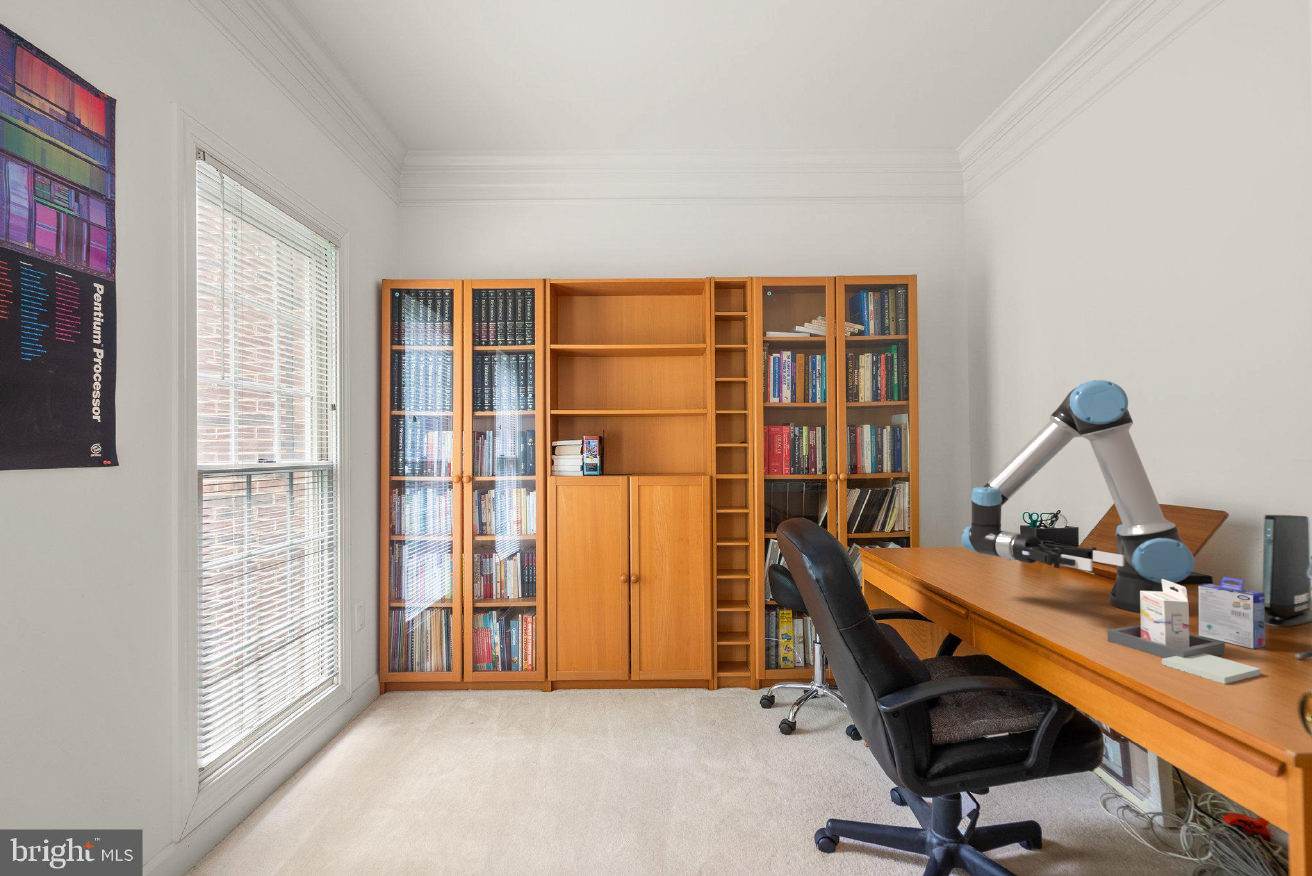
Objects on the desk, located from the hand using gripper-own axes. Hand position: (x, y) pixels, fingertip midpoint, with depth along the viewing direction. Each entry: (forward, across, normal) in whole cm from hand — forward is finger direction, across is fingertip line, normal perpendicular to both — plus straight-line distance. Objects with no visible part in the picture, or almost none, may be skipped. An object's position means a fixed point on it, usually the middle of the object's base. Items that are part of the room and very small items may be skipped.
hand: (1108, 563), depth 134 cm
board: (+21, +6, -17) cm, 28 cm away
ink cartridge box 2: (+15, -19, -17) cm, 30 cm away
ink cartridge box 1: (+11, -1, -17) cm, 20 cm away
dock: (+11, -1, -17) cm, 20 cm away
